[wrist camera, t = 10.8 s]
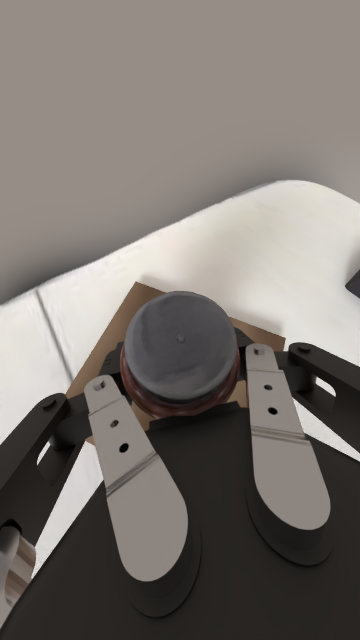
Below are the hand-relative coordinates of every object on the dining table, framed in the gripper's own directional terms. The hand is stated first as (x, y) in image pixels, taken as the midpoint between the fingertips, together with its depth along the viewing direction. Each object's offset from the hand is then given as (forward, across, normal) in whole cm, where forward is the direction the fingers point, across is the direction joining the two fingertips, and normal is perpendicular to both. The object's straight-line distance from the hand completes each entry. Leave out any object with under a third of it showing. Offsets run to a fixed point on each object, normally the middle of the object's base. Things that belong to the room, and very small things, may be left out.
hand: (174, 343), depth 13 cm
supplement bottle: (+2, 0, +5) cm, 5 cm away
